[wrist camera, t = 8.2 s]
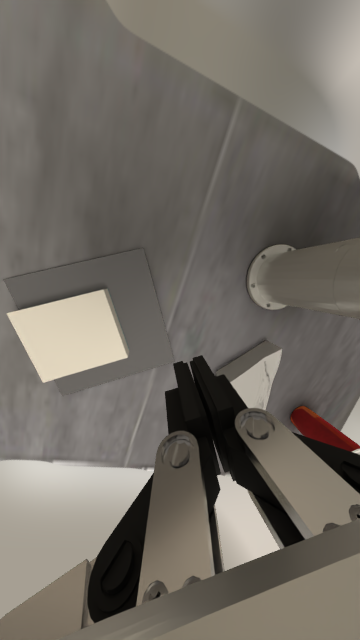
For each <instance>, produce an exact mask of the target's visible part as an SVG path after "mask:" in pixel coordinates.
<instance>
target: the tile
mask: <svg viewBox="0 0 360 640" xmlns="http://www.w3.org/2000/svg"><path fill="white" fill-rule="evenodd" d="M7 315H8V317H9V319H10V321H11V323H12V325H13V326H14V328H15V330H16V332H17V334H18V336H19V338H20V340H21V342H22V344H23V345H24V347H25V349H26V351H27V353H28V355H29V357H30V359H31V361H32V362H33V364H34V366H35V368H36V370H37V372H38V374H39V376H40V378H41V379H42V381H43V383H44V382H47V381H50V380H54V379H57V378H60V377H64V376H67V375H71V374H74V373H77V372H81V371H84V370H87V369H91V368H94V367H98V366H101V365H104V364H108V363H111V362H115V361H118V360H121V359H125V358H128V355H129V348H128V345H127V342H126V339H125V336H124V333H123V331H122V328H121V325H120V322H119V319H118V316H117V313H116V311H115V308H114V305H113V302H112V299H111V296H110V293H109V290H108V288H107V289H103V290H99V291H95V292H91V293H87V294H83V295H79V296H75V297H71V298H67V299H63V300H59V301H55V302H51V303H47V304H43V305H39V306H35V307H31V308H27V309H22V310H18V311H14V312H10V313H7Z"/></svg>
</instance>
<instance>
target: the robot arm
mask: <svg viewBox="0 0 360 640" xmlns="http://www.w3.org/2000/svg"><path fill="white" fill-rule="evenodd" d="M251 285H252V286H251ZM247 289H248V293H249V295H250V297H251V299H252V300H253V301H254V303H256V304H257V305H258V306H260V307H262V308H265V309H269V310H278V309H281V308H284V307H286V306H288V305H289V306H294V307H299V308H304V309H309V310H314V311H320V312H325V313H330V314H335V315H340V316H346V317H351V318H357V319H360V238H355V239H349V240H344V241H339V242H334V243H329V244H324V245H318V246H313V247H308V248H303V249H298V250H296V249H295V248H293V247H292V246H289V245H283V244H280V245H274V246H271V247H268V248H266V249H264V250H263V251H261V252H260V253H259V254H258V255H257V256H256V257H255V259H254V260H253V262H252V263H251V265H250V268H249V270H248V274H247ZM173 365H174V370H175V375H176V379H177V384H178V388H175V389H172V390H169V391H165V398H166V410H167V421H168V432H169V435H168V436H166V437H165V438H164V439H163V440H162V442H161V443H160V445H159V447H158V450H157V454H156V461H155V468H154V473H153V475H152V476H151V478H150V479H149V480H148V482H147V483H146V485H145V486H144V488H143V489H142V490H141V492H140V493H139V495H138V496H137V498H136V499H135V501H134V502H133V503H132V505H131V507H130V508H129V509H128V511H127V512H126V514H125V515H124V517H123V518H122V519H121V521H120V522H119V524H118V525H117V527H116V528H115V529H114V531H113V533H112V534H111V535H110V537H109V538H108V540H107V541H106V542H105V544H104V546H103V547H102V549H101V551H100V553H99V554H98V556H97V557H96V558H95V559H93V560H92V561H91V562H89V561H88V560H87V559H86V560H84V561H83V562H82V563H80V564H78V565H77V566H76V567H74V568H73V569H71V570H70V571H68V572H67V573H66V574H64V575H62V576H61V577H60V578H58V579H57V580H55V581H54V582H52V583H51V584H49V585H48V586H47V587H45V588H44V589H42V590H41V591H39V592H38V593H36V594H35V595H34V596H32V597H30V598H29V599H28V600H26V601H25V602H23V603H22V604H20V605H19V606H17V607H16V608H14V609H13V610H11V611H10V612H9V613H7V614H6V615H5V616H4V617H2V618H1V619H0V640H360V455H359V454H357V453H354V452H351V451H348V450H345V449H342V448H339V447H335V446H332V445H329V444H326V443H323V442H320V441H317V440H314V439H311V438H308V437H305V436H302V435H299V434H296V433H293V432H291V431H290V430H289V429H288V428H286V427H285V426H284V425H283V424H282V423H281V422H280V421H279V420H278V419H277V418H275V417H274V416H273V415H272V414H270V413H269V412H267V411H265V410H263V409H259V408H248V407H247V405H246V404H245V403H244V401H243V400H242V398H241V397H240V396H239V394H238V393H237V391H236V390H235V389H234V387H233V386H232V384H231V383H230V382H229V380H228V379H227V377H226V376H225V375H224V374H222V375H219V376H214V374H213V372H212V371H211V369H210V367H209V366H208V364H207V363H206V361H205V359H204V358H203V356H202V355H201V356H198V357H195V358H193V361H190V365H191V369H192V373H193V377H194V380H193V377H192V375H191V372H190V369H189V367H188V364H187V363H183V361H181V362H177V363H174V364H173ZM194 381H195V383H194ZM213 441H214V443H213ZM214 444H215V447H216V450H217V453H218V455H219V458H220V461H221V464H222V467H223V469H224V472H228V471H230V474H231V477H232V479H233V481H235V480H236V482H237V484H239V485H241V486H242V487H244V488H246V489H247V490H248V493H249V495H250V497H251V499H252V501H253V502H254V504H255V506H256V507H257V509H258V511H259V513H260V515H261V516H262V518H263V520H264V522H265V523H266V525H267V527H268V528H269V530H270V532H271V534H272V536H273V537H274V539H275V541H276V543H277V544H278V546H279V548H280V550H278V551H275V552H272V553H270V554H268V555H265V556H262V557H260V558H257V559H255V560H252V561H250V562H247V563H244V564H242V565H239V566H237V567H234V568H232V569H229V570H227V571H225V570H224V563H223V556H222V550H221V543H220V535H219V529H218V522H217V516H216V509H215V505H214V504H215V502H216V499H217V497H218V494H219V491H220V486H219V482H218V478H217V475H220V474H221V472H220V468H219V464H218V460H217V456H216V452H215V448H214Z"/></svg>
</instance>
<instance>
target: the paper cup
mask: <svg viewBox="0 0 360 640" xmlns="http://www.w3.org/2000/svg"><path fill="white" fill-rule="evenodd" d="M291 421H292V423H293V424H294V425H295V426H296V427H297V429H298V430H299V431H300V432H301V433H302V434H303V435H304V436H305V437H308V438H311V439H314V440H317V441H320V442H323V443H326V444H329V445H332V446H335V447H339V448H342V449H345V450H348V451H351V452H354V453H357V454H359V455H360V446H359V445H358V444H357V443H355V442H354V441H352V440H351V439H350V438H348V437H347V436H346V435H344V434H343V433H342V432H340V431H339V430H338V429H336V428H335V427H333V426H332V425H331V424H329V423H328V422H327V421H325V420H324V419H322V418H321V417H320V416H318V415H317V414H316V413H314V412H313V411H311V410H310V409H308V408H307V407H305V406H300V407H298V408H296V409H295V410H294V411H293V412H292V414H291Z"/></svg>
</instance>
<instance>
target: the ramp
mask: <svg viewBox="0 0 360 640" xmlns="http://www.w3.org/2000/svg"><path fill="white" fill-rule="evenodd" d="M281 353H282V348H280V347H278V346H276V345H274V344H272V343H271V342H269V341H267V340H266V341H264V342H263V343H261V344H260V345H258V346H256V347H255V348H253V349H252V350H250V351H248V352H247V353H245V354H243V355H242V356H240V357H239V358H237V359H236V360H234V361H232V362H231V363H229V364H228V365H226V366H225V367H223V368H221V369H219V370H218V371H217V372H216V376H219V375H222V374H224V375H225V376H226V377H227V379H228V380H229V382H230V383H231V384H232V386H233V387H234V389H235V390H236V391H237V393H238V394H239V396H240V397H241V398H242V400H243V401H244V403H245V404H246V405H247V407H248V408H259V409H263V410H265V409H266V405H267V402H268V398H269V394H270V390H271V386H272V382H273V379H274V377H275V374H276V372H277V369H278V366H279V363H280V359H281Z"/></svg>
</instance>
